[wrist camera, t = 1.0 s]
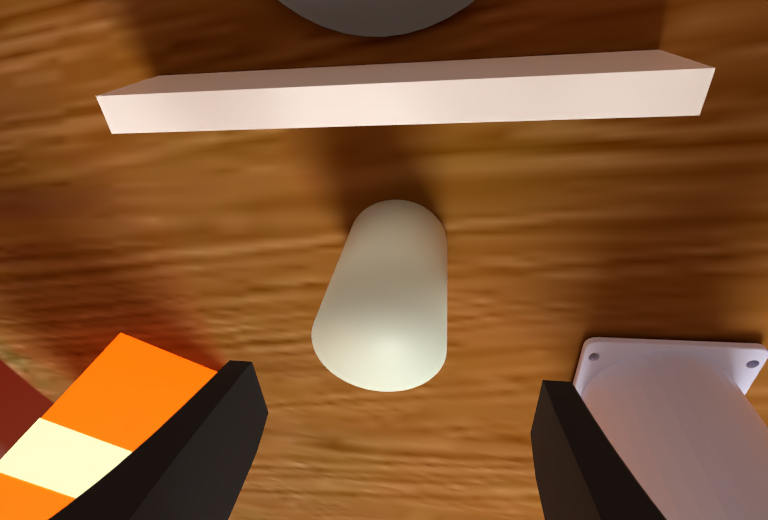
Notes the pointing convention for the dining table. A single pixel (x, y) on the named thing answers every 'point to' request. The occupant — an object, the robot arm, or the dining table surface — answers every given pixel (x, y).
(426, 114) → the divider wall
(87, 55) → the dining table surface
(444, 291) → the sage cylinder
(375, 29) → the rubber mat
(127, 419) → the orange juice
